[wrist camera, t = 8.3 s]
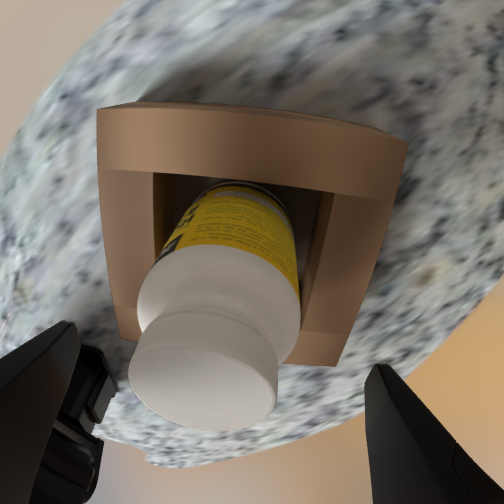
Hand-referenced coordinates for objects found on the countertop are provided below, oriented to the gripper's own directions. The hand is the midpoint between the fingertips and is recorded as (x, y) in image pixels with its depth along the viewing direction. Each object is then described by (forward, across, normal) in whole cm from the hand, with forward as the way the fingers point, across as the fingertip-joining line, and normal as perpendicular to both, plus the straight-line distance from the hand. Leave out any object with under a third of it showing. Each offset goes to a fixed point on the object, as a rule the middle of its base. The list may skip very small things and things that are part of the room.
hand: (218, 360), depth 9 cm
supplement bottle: (+9, 0, 0) cm, 9 cm away
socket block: (+10, 0, 0) cm, 10 cm away
